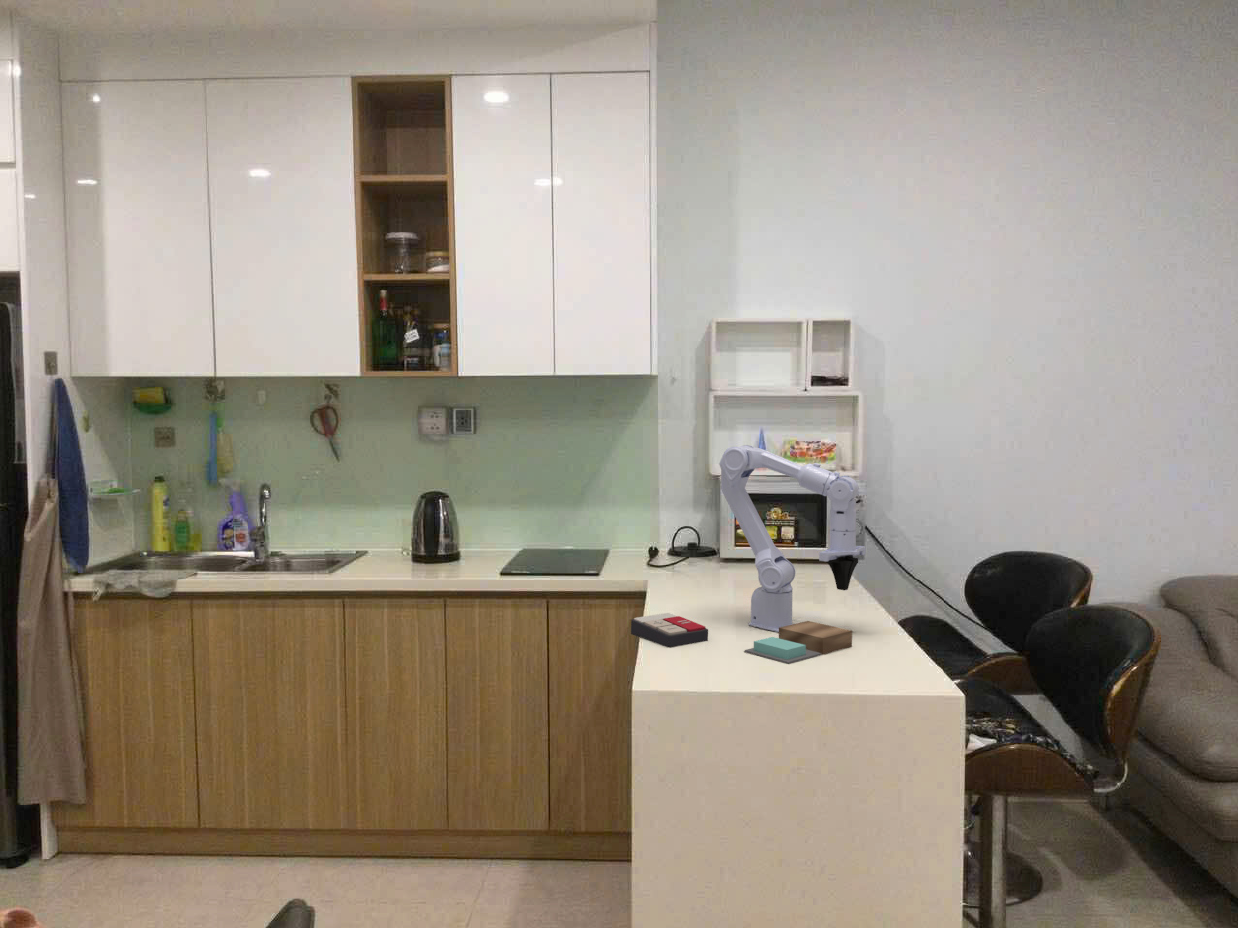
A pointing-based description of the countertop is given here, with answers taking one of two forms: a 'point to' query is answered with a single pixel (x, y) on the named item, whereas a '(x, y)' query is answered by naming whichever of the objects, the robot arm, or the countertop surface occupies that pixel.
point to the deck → (817, 636)
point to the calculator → (668, 630)
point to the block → (779, 648)
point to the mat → (808, 655)
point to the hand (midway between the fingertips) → (842, 589)
